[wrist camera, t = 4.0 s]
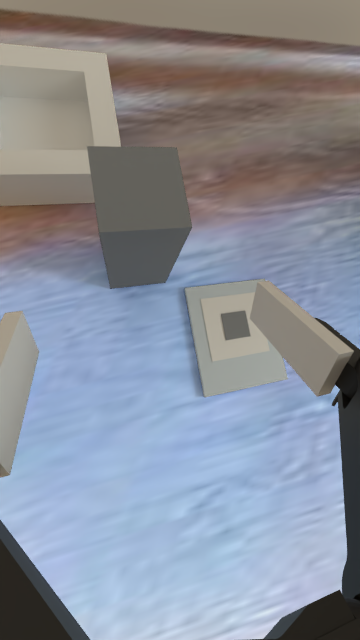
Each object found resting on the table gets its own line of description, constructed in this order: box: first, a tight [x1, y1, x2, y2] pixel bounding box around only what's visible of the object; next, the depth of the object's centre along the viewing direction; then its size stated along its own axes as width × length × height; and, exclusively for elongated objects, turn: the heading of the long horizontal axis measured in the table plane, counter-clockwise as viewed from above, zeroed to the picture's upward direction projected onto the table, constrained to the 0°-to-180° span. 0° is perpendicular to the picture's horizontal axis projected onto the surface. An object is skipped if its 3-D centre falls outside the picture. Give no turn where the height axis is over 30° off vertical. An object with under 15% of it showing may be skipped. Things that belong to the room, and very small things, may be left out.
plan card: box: [184, 279, 288, 397], centre depth 29 cm, size 10×12×1 cm
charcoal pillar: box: [87, 146, 192, 289], centre depth 22 cm, size 6×6×12 cm
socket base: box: [0, 43, 121, 206], centre depth 26 cm, size 14×14×4 cm
